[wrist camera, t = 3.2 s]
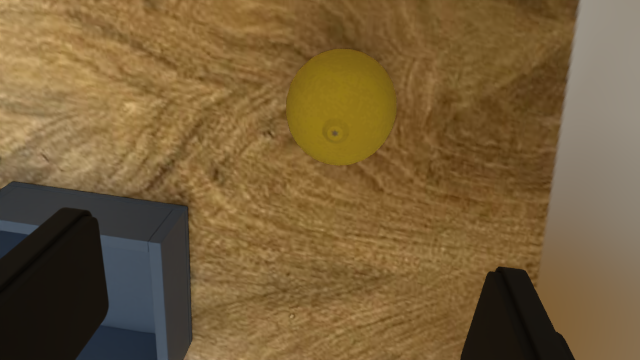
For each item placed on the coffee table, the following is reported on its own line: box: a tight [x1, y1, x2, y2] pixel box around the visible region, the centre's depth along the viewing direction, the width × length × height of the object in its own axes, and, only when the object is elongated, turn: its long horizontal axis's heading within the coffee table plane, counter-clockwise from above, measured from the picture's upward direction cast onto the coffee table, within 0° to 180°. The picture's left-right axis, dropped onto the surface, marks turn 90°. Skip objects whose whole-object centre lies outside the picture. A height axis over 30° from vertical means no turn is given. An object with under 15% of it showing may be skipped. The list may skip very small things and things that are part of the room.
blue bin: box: [0, 182, 192, 360], centre depth 33 cm, size 13×13×5 cm
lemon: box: [286, 49, 396, 165], centre depth 24 cm, size 6×6×8 cm
